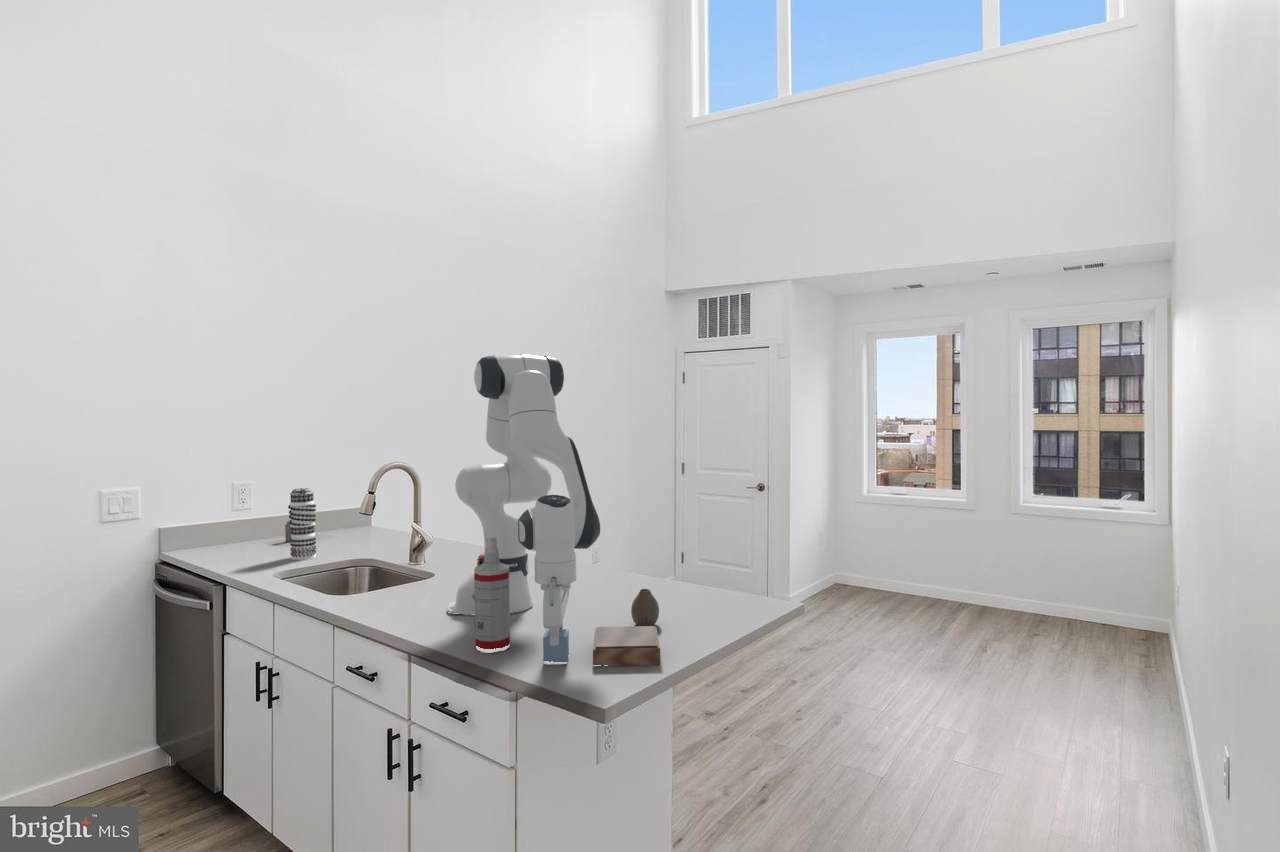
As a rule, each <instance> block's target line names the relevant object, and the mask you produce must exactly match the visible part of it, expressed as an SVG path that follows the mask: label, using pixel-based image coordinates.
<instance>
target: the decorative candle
mask: <svg viewBox="0 0 1280 852" xmlns="http://www.w3.org/2000/svg"><path fill="white" fill-rule="evenodd" d="M314 493H315V492H314V491H313V490H312V489H311V488H310V487H298V488H294V489H293V490H291V492H290V493H289V495H290V496H289V497H290V502H289V505H288V506H287V508H288V509H289V511H288V514H289V515H288V518H289V519H290V520H288V521H289V523H290V524H291V525H290V527H291V531H292V533H291V538H292V539H290V543H289V545H290V559H291V560H292V561H294V560H295V561H301V560H302V561H304V560H310V559H314V558H316V557H317V550H316V549H317V546H316V543H317V541H315V540H316V539H317V537H316V531H315V532H314V525H315V526H316V521H317V519H316V518H315V517H316V516H317V515H316V514H315V513H314V512H316V511H317V509H315V508H316V507H317V505H316V504H315V500H314ZM314 521H315V523H314Z"/></svg>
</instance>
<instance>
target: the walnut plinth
mask: <svg viewBox="0 0 1280 852" xmlns="http://www.w3.org/2000/svg"><path fill="white" fill-rule="evenodd" d="M593 634H594V635H593V646H592V666H593V665H601V666H602V667H605V666H604V665H608V666H607V667H634V666H635V667H639V666H642V667H643V666H647V667H648V666H661V647H660V642H659V641H660V639H659V636H658V635H659V634H658V628H657V626H655V625H653V626H637V625H636V626H597V627H595V628H594V633H593Z"/></svg>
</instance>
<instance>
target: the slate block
mask: <svg viewBox="0 0 1280 852" xmlns="http://www.w3.org/2000/svg"><path fill="white" fill-rule="evenodd" d="M569 636H570V635H569V628H564V629H559V645H557V646H552V645H550V635H549V629H544V633H543V636H542V649H543V650H542V654H543V655H542V656H543V657H542V662H543V661H549V662H551V661H553V662H567V660H568V661H569V658H568V655H569V656H570V652H569V651H570V648H569V646H570V645H569V641H570V637H569Z"/></svg>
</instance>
